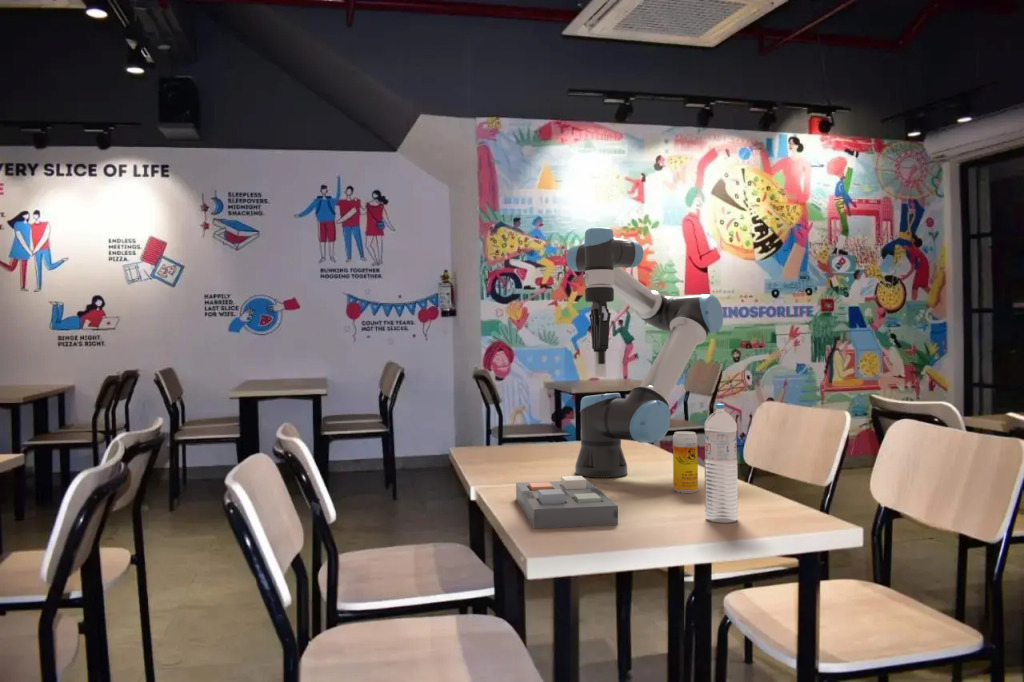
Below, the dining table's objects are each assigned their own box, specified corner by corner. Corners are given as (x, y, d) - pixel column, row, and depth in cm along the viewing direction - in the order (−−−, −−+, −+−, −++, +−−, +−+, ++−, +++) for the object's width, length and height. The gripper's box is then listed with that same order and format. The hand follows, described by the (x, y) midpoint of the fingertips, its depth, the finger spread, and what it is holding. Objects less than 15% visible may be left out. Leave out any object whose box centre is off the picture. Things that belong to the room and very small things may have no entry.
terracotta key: (549, 494, 175) (549, 482, 175) (553, 499, 170) (552, 486, 170) (528, 495, 174) (528, 482, 174) (532, 499, 169) (532, 487, 169)
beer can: (684, 494, 181) (683, 434, 181) (668, 490, 186) (667, 432, 186) (703, 491, 184) (702, 433, 184) (686, 487, 189) (686, 430, 189)
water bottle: (733, 525, 151) (731, 406, 151) (701, 521, 155) (699, 404, 155) (741, 518, 157) (740, 403, 157) (710, 514, 161) (709, 402, 161)
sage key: (595, 506, 162) (595, 493, 162) (601, 511, 157) (601, 497, 157) (573, 507, 162) (573, 493, 162) (578, 512, 157) (578, 498, 157)
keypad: (587, 496, 181) (587, 480, 181) (618, 524, 153) (617, 505, 153) (516, 498, 179) (516, 482, 179) (534, 528, 151) (534, 509, 151)
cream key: (581, 488, 176) (581, 475, 176) (586, 492, 171) (586, 479, 171) (561, 488, 175) (561, 476, 175) (565, 493, 170) (565, 480, 170)
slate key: (560, 502, 161) (560, 488, 161) (565, 507, 156) (564, 493, 156) (538, 503, 161) (538, 489, 161) (542, 508, 156) (542, 494, 156)
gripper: (579, 288, 196) (581, 375, 196) (591, 285, 183) (592, 378, 183) (606, 288, 197) (607, 374, 197) (620, 285, 184) (621, 377, 184)
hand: (600, 376), depth 190 cm, fingers closed
